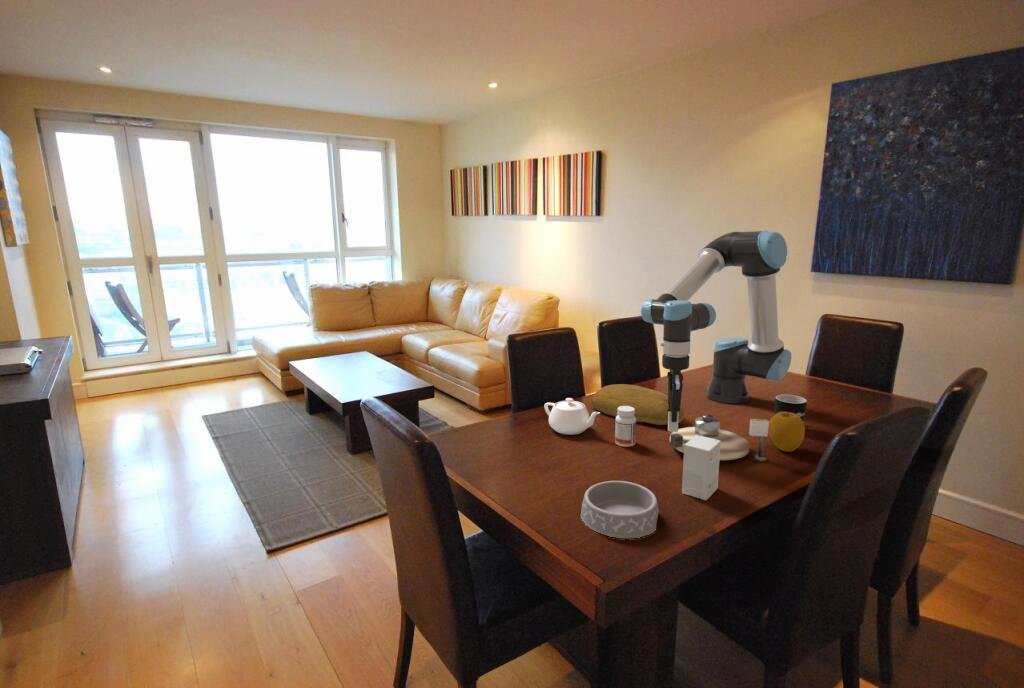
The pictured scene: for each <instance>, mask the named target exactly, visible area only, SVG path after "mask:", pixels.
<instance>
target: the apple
mask: <svg viewBox="0 0 1024 688" xmlns="http://www.w3.org/2000/svg"><path fill="white" fill-rule="evenodd" d="M768 421H769V425H768V437H769V439H770V440H771V441H772V442H773V444H774V446H775V448H777V449H779V450H780V451H782V452H785V453H787V452H788V453H789V452H790V453H792V452H794V451H795V450H797V449H798V448H799V447H800V445H802V443H803V441H804V439H805V435H806V434H805V433H806V432H805V431H806V426H805V424H804V420H803V421H802V419H801V418H800V417H799V416H798V415H796V414H794V413H790V412H784V411H783V412H779V413H777V414H775V413H774V415H772V417H771V418H770V419H769V420H768Z"/></svg>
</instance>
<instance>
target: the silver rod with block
mask: <svg viewBox="0 0 1024 688" xmlns="http://www.w3.org/2000/svg"><path fill="white" fill-rule="evenodd" d="M769 421H770V420H768V419H767V418H766V419H765V418H763V419H761V418H750V419H749V428H748V429H749V430H748V434H749V435H750V437H751V436H752V437H758V439H759V440H758V447H757V448H758V449H757V453H755V454H754V456H753V459H754V460H755V461H756V462H761V463H763V462H766V460H767V456H766V455H765V454H763V453H764V444H765V437H769V434H768V425H769Z"/></svg>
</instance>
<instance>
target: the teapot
mask: <svg viewBox="0 0 1024 688" xmlns="http://www.w3.org/2000/svg"><path fill="white" fill-rule="evenodd" d="M549 406H550V407H551V406H552V409H551V410H550V409H549ZM543 407H544V411H545V413H546V414H547V416H548V425H549V426H550V428H552V429H553V430H554V431H555V432H556V433H559V434H561V435H570V436H571V435H573V436H574V435H579V434H581V433H583V432H585V431H586V430H587V429H588V428H590V427H592V426H593V424H594V422H595V419H596V416H597V415H599V414H601V411H593V412H592V413H591V415H590V413H589V411H588V409H587V406H586V405H585V404H584V403H583V402H580V401H577V400H574V398H572V397H566V398H565V400H560V401H558V402H555V403H554V402H546V403H544V405H543Z"/></svg>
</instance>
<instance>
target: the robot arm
mask: <svg viewBox="0 0 1024 688" xmlns="http://www.w3.org/2000/svg"><path fill="white" fill-rule="evenodd" d="M787 256H788V246H787V242H786V239H785V237H784V236H783V235H782V234H781V233H780V232H777V231H768V230H762V231H759V230H757V231H732V232H728V233H726V234H723V235H720V236H718V237H717V238H715V239H714V240H712V241H710V242H709V243H707V244H706V245H705V246H704V247H703V248H702V249H701V250H700V251H699V252H698V255H697V258H696V259H695V260H694V261H693V262H692V263H691V264H690V265H689V266H688V267H687V268H686V269H685V270H684V271H683V273H682V274H680V275H679V276H678V277H677V279H675V281H673V282H672V283H671V284H670V285H669V287H667V289H665V290H664V292H662V294H661V295H659V297H657V298H656V299H654V298H653V299H646V300H645V301H644V302H643V303H642V305H641V309H640V315H641V318H642V321H644V322H647V323H651V324H653V325H662V326H663V336H662V341H663V342H661V343H660V346H661V347H662V353H663V354H662V356H661V357H662V358H661V359H662V361H661V366H662V368H663V369H665V370H669V371H667V396H668V404H669V406H668V407H669V408H670V409H667V411H669V414H668V425H667V431H668V432H671V433H672V432H678V429H679V423H678V418H679V412H680V405H681V403H682V394H683V393H682V392H683V387H684V384H683V381H684V375H683V372H682V371H685V370H687V369H689V367H690V355H689V354H691V334H692V332H694V331H698V330H703V329H706V328H708V327H711V326H712V325H713V324H714V322H715V321H716V318H717V313H716V309H715V308H714V306H713V305H712V304H710V303H707V302H698V303H691V302H690V301H689V300H691V299H692V297H694V295H695V294H696V293H697V292H698V291H699V290H700V289H701V288H702V287H703V286H704V285H705V284H706V283H707V282H708V281H709V280H710V279H711V278H712V276H713V275H714V274H716V273H720V272H721V271H722V270H723V269H724V268H726V267H727V268H728V267H738V268H739V267H741V274H742V276H743V277H745V278H746V279H747V280H746V281H747V293H748V307H749V320H750V322H749V323H750V333H751V335H750V336H751V340H750V341H749V339H747V338H743V337H733V338H732V337H731V338H730V337H729V338H723V339H719V340H717V341H716V342H715V343H714V349H713V363H712V375H711V379H710V382H709V384H708V387H707V389H706V398H707V399H710V400H712V401H714V402H719V403H723V404H742V403H746V402H748V401H749V398H750V397H749V396H750V394H749V389H748V387H747V382H746V376H749V377H754V378H759V379H763V380H766V381H774V382H779V381H781V380H782V379H783V378H784V377H785V376H786V375H787V373H788V371H789V369H790V366H791V364H792V363H791V362H792V353H791V351H790V350H788V349H785V346H784V341H783V340H782V339H781V338H779V324H778V323H779V321H778V320H779V319H778V303H777V302H778V301H777V283H776V282H777V281H776V275H777V274H779V273H780V271H781V268H782V267H783V266H784V265H785V263H786V262H787ZM681 406H682V405H681Z"/></svg>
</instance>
